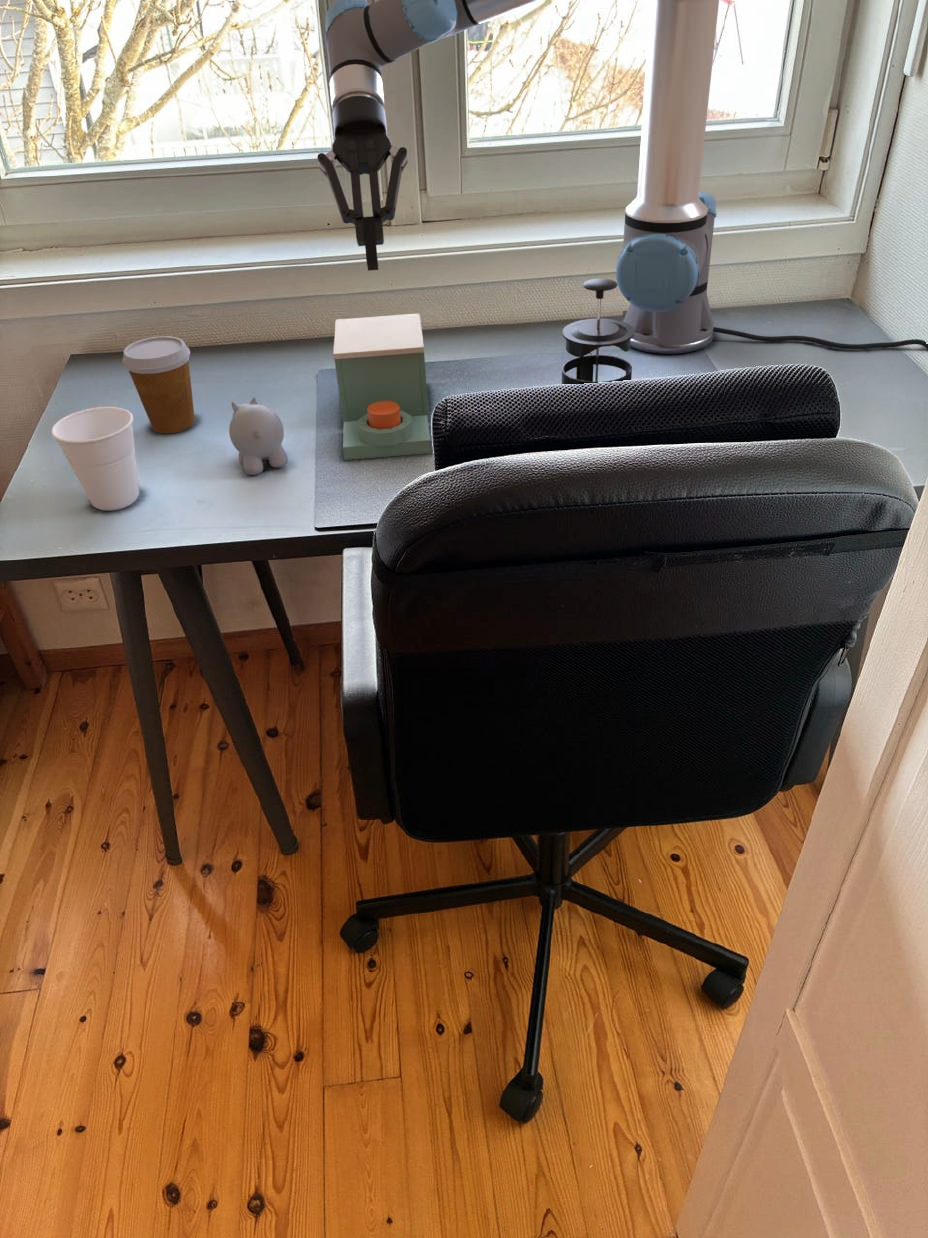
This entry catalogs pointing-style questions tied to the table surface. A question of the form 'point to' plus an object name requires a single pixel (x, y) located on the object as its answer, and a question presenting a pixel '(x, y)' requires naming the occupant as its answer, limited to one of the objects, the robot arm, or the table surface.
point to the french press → (596, 341)
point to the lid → (378, 336)
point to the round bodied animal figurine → (257, 436)
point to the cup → (101, 454)
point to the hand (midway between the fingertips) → (372, 265)
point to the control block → (386, 438)
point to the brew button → (384, 415)
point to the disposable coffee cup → (162, 381)
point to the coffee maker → (382, 384)
